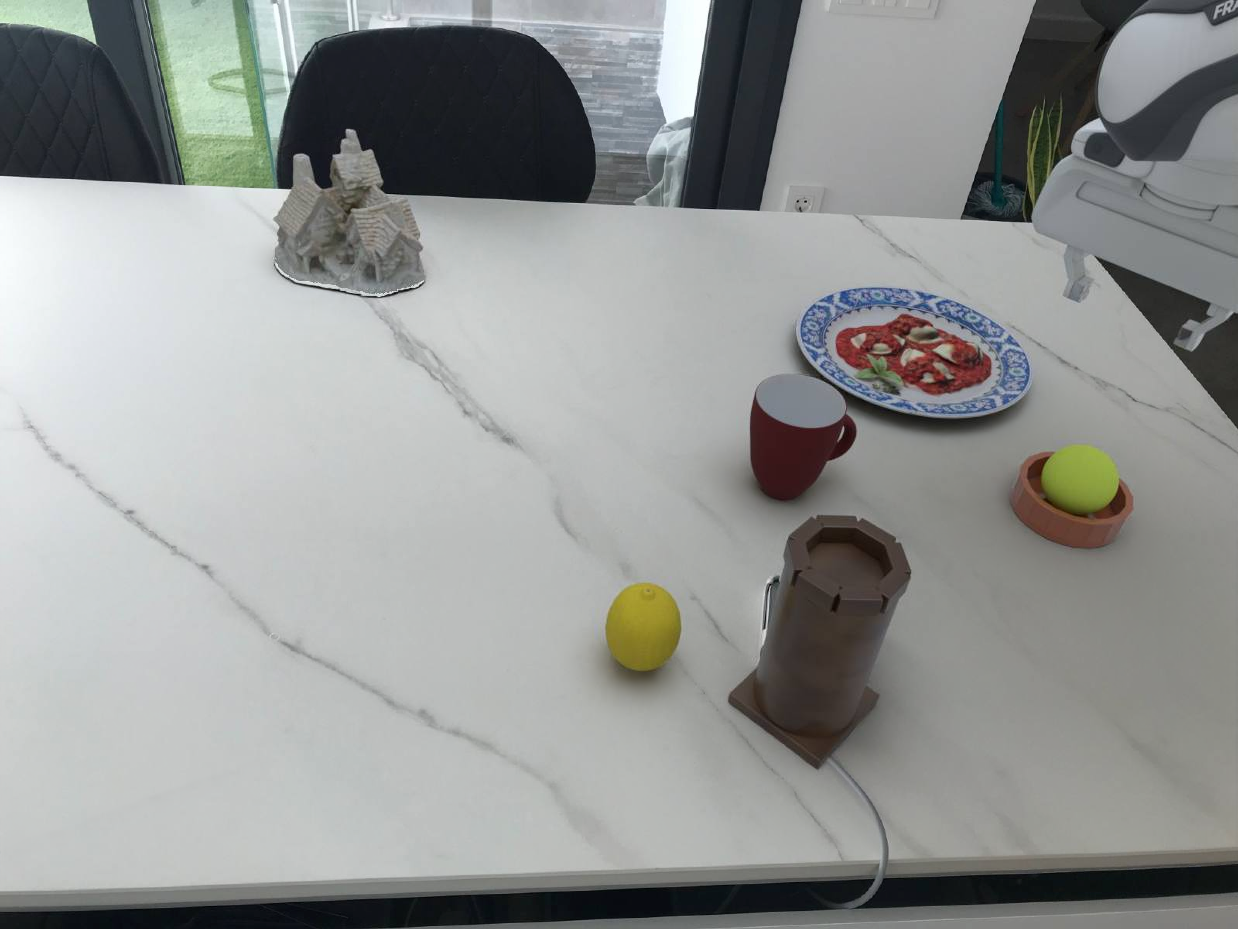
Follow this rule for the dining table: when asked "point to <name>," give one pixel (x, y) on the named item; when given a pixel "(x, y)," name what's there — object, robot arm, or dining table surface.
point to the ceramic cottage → (348, 227)
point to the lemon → (643, 626)
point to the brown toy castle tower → (825, 634)
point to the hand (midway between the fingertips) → (1127, 320)
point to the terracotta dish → (1060, 524)
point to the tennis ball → (1080, 479)
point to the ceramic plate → (914, 352)
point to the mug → (796, 432)
